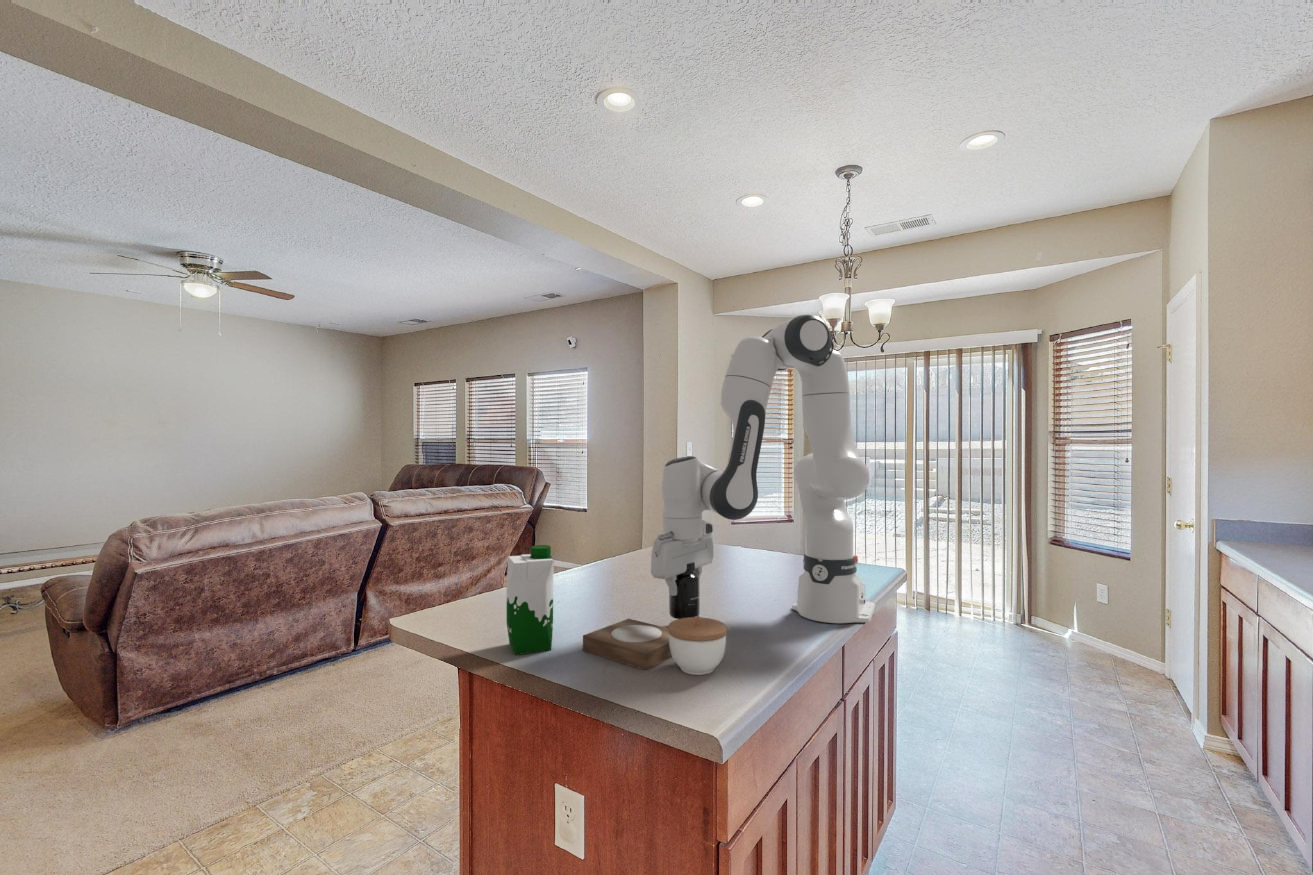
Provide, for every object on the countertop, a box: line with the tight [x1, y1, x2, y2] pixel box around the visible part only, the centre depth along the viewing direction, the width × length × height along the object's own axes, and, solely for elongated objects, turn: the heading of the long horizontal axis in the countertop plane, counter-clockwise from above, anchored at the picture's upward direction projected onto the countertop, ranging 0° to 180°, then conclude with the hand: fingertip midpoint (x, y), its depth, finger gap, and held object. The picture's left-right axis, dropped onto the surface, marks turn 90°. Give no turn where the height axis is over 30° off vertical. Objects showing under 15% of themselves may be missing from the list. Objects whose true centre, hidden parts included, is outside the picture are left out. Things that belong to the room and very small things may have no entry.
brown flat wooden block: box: [582, 618, 673, 671], centre depth 113 cm, size 14×16×3 cm
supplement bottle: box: [668, 562, 701, 620], centre depth 127 cm, size 7×7×12 cm
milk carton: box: [506, 544, 555, 656], centre depth 115 cm, size 9×9×20 cm
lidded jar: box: [667, 615, 728, 676], centre depth 104 cm, size 11×11×9 cm
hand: (684, 590), depth 127 cm, fingers closed on supplement bottle, 6 cm apart
